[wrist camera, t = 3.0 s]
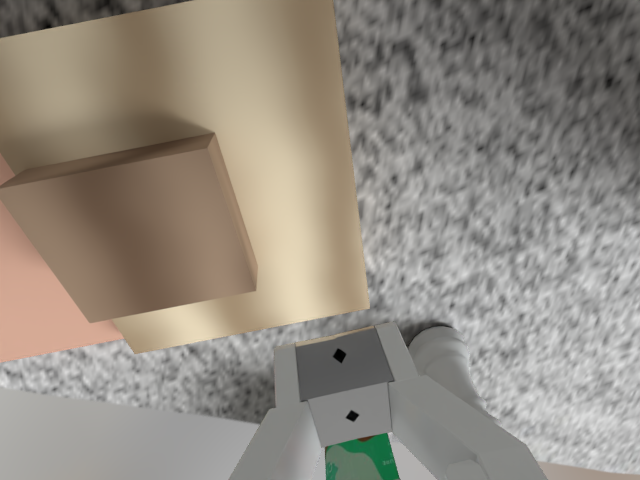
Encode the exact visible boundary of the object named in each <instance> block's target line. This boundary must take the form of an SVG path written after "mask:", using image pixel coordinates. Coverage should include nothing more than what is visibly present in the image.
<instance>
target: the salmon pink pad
mask: <svg viewBox="0 0 640 480" xmlns="http://www.w3.org/2000/svg"><path fill="white" fill-rule="evenodd" d="M14 176H15V174H14V173H13V171H12V170H11V168H10V167H9V165H8V164H7V162H6V161H5V159H4V158H3V156H2V155H1V153H0V185H2V184H3V183H5V182H6V181H8V180H9V179H11V178H13V177H14ZM119 339H124V337H123V336H122V334H121V333H120V331H119V330H118V328H117V327H116V325H115V324H114V322H113V321H112V319H110V320H105V321H100V322H95V323H89V322H88V320H87V319H86V318H85V316H84V315H83V313H82V312H81V311H80V309H79V308H78V307H77V305H76V304H75V302H74V301H73V300H72V298H71V297H70V295H69V294H68V293H67V291H66V290H65V289H64V287H63V286H62V284H61V283H60V282H59V280H58V279H57V277H56V276H55V275H54V273H53V272H52V271H51V269H50V268H49V266H48V265H47V264H46V262H45V261H44V259H43V258H42V257H41V255H40V254H39V253H38V251H37V250H36V248H35V247H34V246H33V244H32V243H31V241H30V240H29V239H28V237H27V236H26V235H25V233H24V232H23V230H22V229H21V228H20V226H19V225H18V223H17V222H16V221H15V219H14V218H13V217H12V215H11V214H10V212H9V211H8V210H7V208H6V207H5V205H4V204H3V203H2V201H1V200H0V362H6V361H11V360H16V359H21V358H26V357H31V356H36V355H42V354H47V353H52V352H57V351H62V350H67V349H72V348H78V347H83V346H88V345H93V344H98V343H103V342H108V341H114V340H119Z"/></svg>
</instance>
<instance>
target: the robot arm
mask: <svg viewBox="0 0 640 480" xmlns="http://www.w3.org/2000/svg"><path fill="white" fill-rule="evenodd" d="M274 374H275V406H276V408H272V409H269V411H268V412H267V414H266V416H265V417H264V419H263V421H262V423H261V424H260V426H259V428H258V429H257V431H256V433H255V435H254V437H253V438H252V440H251V442H250V443H249V445H248V447H247V448H246V450H245V452H244V454H243V455H242V457H241V459H240V460H239V463H238V464H237V466H236V467H235V469H234V471H233V473H232V474H231V476H230V478H229V480H312V477H313V474H314V471H315V469H316V466H317V463H318V460H319V457H320V454H321V451H322V447H326V446H330V445H334V444H338V443H342V442H346V441H349V440H353V439H358V438H363V437H368V436H373V435H378V434H383V433H388V432H393V434H394V435H395V436H396V437H397V438H398V439H399V440H400V442H401V443H402V444H403V445H404V446H406V448H407V449H408V450H409V451H410V452H411V453H412V454H413V455H414V456H415V457H416V458H417V459H418V460H419V461H420V462H421V463H422V464H423V465H424V466H425V467H426V468H427V469H428V470H429V471H430V472H431V473H432V474H433V475H434V476H435V478H436V479H437V480H548V479H547V478H546V476H545V474H544V473H543V471H542V469H541V468H540V466H539V465H538V463H537V461H536V460H535V458H534V456H533V455H532V453H531V452H530V450H529V448H528V447H527V445H526V444H524V443H523V442H521V441H520V440H519V439H517V438H516V437H514V436H513V435H511V434H510V433H508V432H507V431H506V430H504V429H503V428H501V427H500V426H498V425H497V424H496V423H494V422H493V421H491V420H490V419H488V418H487V417H486V416H484V415H483V414H481V413H480V412H478V411H477V410H476V409H474V408H473V407H471V406H470V405H468V404H467V403H466V402H464V401H463V400H461V399H460V398H458V397H457V396H455V395H454V394H453V393H451V392H450V391H448V390H447V389H445V388H444V387H443V386H441V385H440V384H438V383H437V382H435V381H434V380H433V379H431V378H430V377H428V376H427V375H421V376H419V374H418V372H417V369H416V367H415V365H414V363H413V360H412V358H411V356H410V354H409V351H408V349H407V347H406V345H405V342H404V340H403V338H402V335H401V333H400V331H399V329H398V326H397V324H396V323H395V322H394V321H393V322H388V323H384V324H379V325H375V326H370V327H365V328H361V329H356V330H352V331H348V332H343V333H339V334H335V335H332V336H327V337H321V338H316V339H311V340H305V341H300V342H296V343H291V344H286V345H281V346H276V347H275V349H274Z"/></svg>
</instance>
